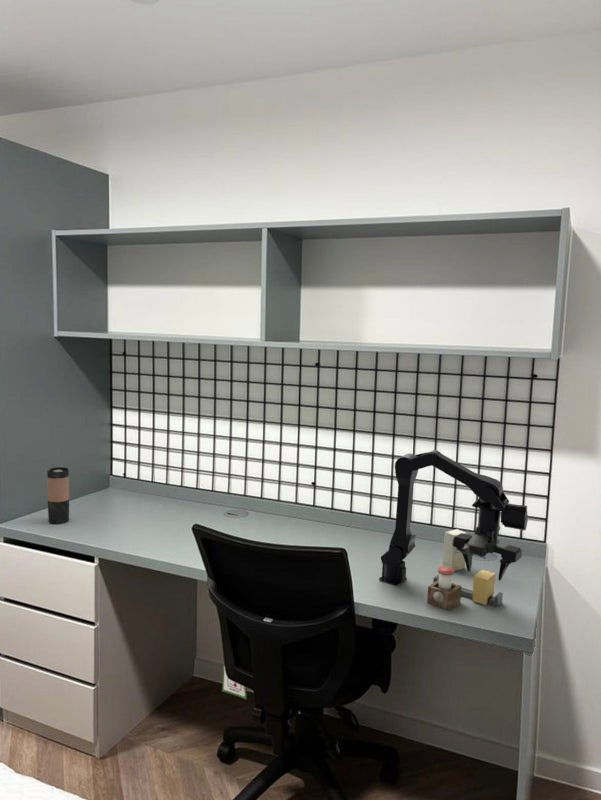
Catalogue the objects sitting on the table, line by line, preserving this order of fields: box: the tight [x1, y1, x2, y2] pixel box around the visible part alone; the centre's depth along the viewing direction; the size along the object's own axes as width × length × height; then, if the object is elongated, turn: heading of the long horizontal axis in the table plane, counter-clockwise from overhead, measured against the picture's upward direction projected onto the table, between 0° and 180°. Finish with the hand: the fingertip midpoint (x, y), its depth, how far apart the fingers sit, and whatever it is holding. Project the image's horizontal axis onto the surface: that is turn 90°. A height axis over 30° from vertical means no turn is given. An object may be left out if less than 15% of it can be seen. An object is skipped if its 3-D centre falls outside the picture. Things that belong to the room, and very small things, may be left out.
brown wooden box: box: [426, 579, 462, 612], centre depth 184 cm, size 7×7×5 cm
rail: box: [432, 573, 504, 608], centre depth 189 cm, size 20×4×3 cm, turn 52°
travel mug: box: [46, 466, 70, 525], centre depth 241 cm, size 8×8×20 cm
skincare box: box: [442, 528, 468, 572], centre depth 209 cm, size 6×4×12 cm
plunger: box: [437, 565, 455, 591], centre depth 183 cm, size 4×4×7 cm
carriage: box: [472, 569, 496, 606], centre depth 186 cm, size 4×6×8 cm, turn 142°
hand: (484, 575), depth 185 cm, fingers open, 9 cm apart
